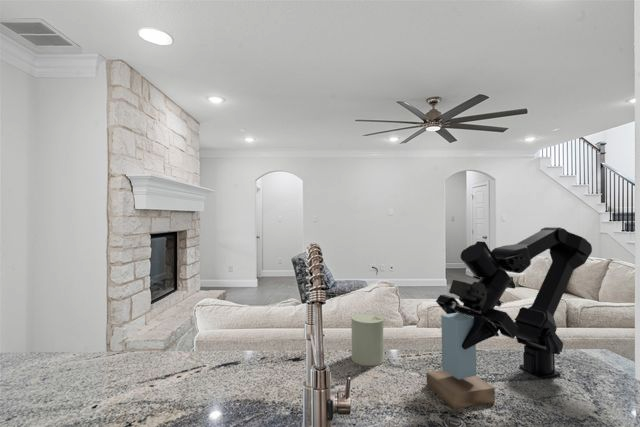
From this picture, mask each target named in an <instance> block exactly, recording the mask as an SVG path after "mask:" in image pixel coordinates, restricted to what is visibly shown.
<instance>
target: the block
mask: <svg viewBox="0 0 640 427" xmlns="http://www.w3.org/2000/svg"><path fill="white" fill-rule="evenodd" d="M440 317H441V319H440V320H441V327H440V328H441V367H442V369H441V370H443V371H445V372H447V373H449V374H450V375H452V376H454V377H455V378H457V379H459V380H460V379H464V378H468V377H472V376H477V344H475V345H474V346H472V347H470V348H468V349H466V350H465V349H463V348H462V344H463V342H464V340H465V338H466V336H467V335H468V333H469V331H470V330H471V328H472V326H473V324H474V318H473V317H470V316H467V315H464V314H460V313H452V314H447V313H445V314H441V315H440Z"/></svg>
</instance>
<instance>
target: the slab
mask: <svg viewBox="0 0 640 427" xmlns="http://www.w3.org/2000/svg"><path fill="white" fill-rule="evenodd" d="M426 386H427V387H429V388H430V389H431V390H432V391H433V392H434V393H435V394H436V395H437V396H438V397H440V398H441V399H442V400H443V401H445V402H446V403H447V405H449V406H450V407H452V408H453V409H460V408H468V407H473V406H480V405H486V404H491V403H492V404H493V403H495V402H496V396H495V395H496V393H495V390H496V389H495V387H494V386H492V385H490V383H488V382H486V381H485V380H483V379H481V378H480V377H479V376H477V375H476V376H472V377H468V378H464V379H460V380H459V379H457V378H455V377H454V376H452V375H450V374H449V373H447V372H445V371H443V370H442V369H440V370H433V371H426Z"/></svg>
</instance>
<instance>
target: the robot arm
mask: <svg viewBox="0 0 640 427" xmlns="http://www.w3.org/2000/svg"><path fill="white" fill-rule="evenodd" d="M548 250H549V254H550V258H551V264H550V266H549V268H548V270H547V273H546V275H545V276H544V279H543V281H542V283H541V286H540V288H539V289H538V291H537V292H538V293H537V294H536V296H535V299H534V301H533V302H532V305H530V306H529V307H525V306H522V307H520V309H519V311H518V312H517V313H518V314H517V316H516V317H515V318H514V320H513V318H512V317H511V316H510V315H509V314H508V313H507V311H503V310H500V309H496V308H495V307H498V308H500V307H501V306H502V302H501V301H500V299H501V298H502V296H503V295H504V293H505V291H506V289H507V288H509V289H516V283H515V281H514V277H513V276H510V275H509V274H508V273H513V274H514V273H515V274H521V273H523V272H524V271H526V269H528V268H529V267H530V266H531V264H532V259H534V258H536V256H539V255H540V254H542V253H543V252H546V251H548ZM592 251H593V247H592V244H591V243H590V242H589V241H588V240H587V238H584V237H583V236H580V235H577V234H575V233H572V232H570V231H568V230H566V229H565V228H562V227H558V226H557V227H554V226H553V227H552V226H551V227H550V226H549V227H547V226H545V227H543V228H541V229H539V231H537V232H535V233H534V234H532V235H530V236H528V237H527V238H524V239H523V240H521V241H519V242H518V243H515V244H508V245H502V246H499V247H495V248H493V249H492V250H491V249H490V247H489V246H488V243H486V242H485V241H481V240H480V241H479V240H478V241H476V242H475V244H471V245H470V246H467V247H466V248H465V249H463V250H462V251H461V253H460V259H461V261H462V263H464V264H465V266H466V267H467V268H468V269H469V271H470V272H471V273H472V275H474V277H476V278H480V279H479V280H478V281H473V282H472V283H468V282H465V281H461V280H456V279H453V280H452V282H451V285H450V288H449V291H448V293H449V294H451V295H452V294H453V295H455V296H456V297H459V298H458V300H459V301H460V303H462V304H463V305H461V304H460V303H459V302H458V300H456V298H455V297H453V296H450V295H447V294H441V295H439V296H438V298H437V299H436V300H435V302H436V304H437V305H438V306H439V307H440V308H441V309H442V310H443V311H444V312H445V314H452V313H460V314H463V315H466V316H469V317H472V318H474V324H473V326H472V328H471V330H470V331H469V333H468V335H467V336H466V338H465V340H464V342H463V344H462V348H463V349H465V350H466V349H468V348H470V347H472V346H474V345H475V344H476V345H477V344H479V343H481V342H484V341H486V340H488V339H490V338H493V337H497V338H498V337H499V336H500V335H501V336H504V337H507V338H511V339H516V342H517V344H520V345H523V353H522V354H523V356H522V358H523V359H522V360H523V364H519V368H521V369H522V370H524V371H526V372H528V373H531V374H532V375H534V376H536V377H538V378H539V379H544V378H545V379H546V378H552V377H557V376H561V372H559V371H557V370H555V369H556V368H555V367H556V366H555V364H556V363H555V355H560V353H562V352H563V347H564V342H563V341H562V340H561V338H560V337H559V336H558V335H557V332H556V331H557V330H558V328H557V323H556V321H555V320H556V319H555V317H554V315H555V313H556V311H557V310H558V306H559V304H560V302H561V300H562V299H563V298H562V297H563V295H564V292H565V291H566V288H567V286H568V284H569V282H570V280H571V277H572V274H573V273H574V270H576V269H579V267H581V266H583V265H584V264H586V263H587V261H588V259H589V257H590V255H591V254H592V253H593V252H592ZM507 272H508V273H507Z"/></svg>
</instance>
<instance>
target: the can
mask: <svg viewBox="0 0 640 427" xmlns="http://www.w3.org/2000/svg"><path fill="white" fill-rule="evenodd" d="M350 320H351V361H352V362H353V363H355V364H357V365H360V366H365V367H375V366H379V365H382V364H383V363H384V362H385V353H384V352H385V351H384V321H385V320H384V317H383V316H381V315H378V314H376V313H367V312H366V313H365V312H364V313H357V314H353V315H351V318H350Z"/></svg>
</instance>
